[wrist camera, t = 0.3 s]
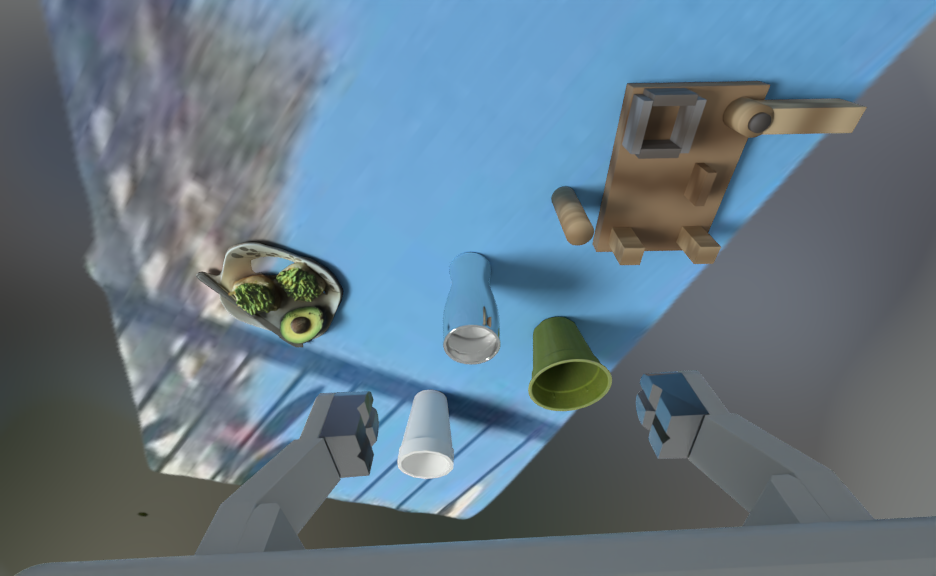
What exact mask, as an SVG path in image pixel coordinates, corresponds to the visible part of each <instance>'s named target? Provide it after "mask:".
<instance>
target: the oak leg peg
mask: <svg viewBox="0 0 936 576" xmlns="http://www.w3.org/2000/svg"><path fill="white" fill-rule="evenodd" d="M551 200H552V203H553V206H554V208H555V211H556V213H557V216H558V219H559V221H560V224H561V226H562V229H563V231H564V234H565V236H566V239H567V241H568V242H569V243H570V244H572V245H583V244H585V243H587V242H588V241H589V240H590V239H591V238H592V237H593V234H594V229H593V226H592V224H591V223H590V221H589V219H588V217H587V215H586V213H585V211H584V209H583V207H582V205H581V203H580V202H579V200H578V198H577V196H576V194H575V192H574V190H573V189H572V188H570V187H567V186H564V187H560V188H558V189H557V190H555V191H554V193H553V194H552V198H551Z"/></svg>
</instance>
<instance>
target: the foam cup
mask: <svg viewBox="0 0 936 576" xmlns="http://www.w3.org/2000/svg"><path fill="white" fill-rule="evenodd" d="M453 458H454V449H453V448H452V440H451V431H450V422H449V413H448V404H447V398H446V396H445V395H444V394H443V393H441V392H439V391H435V390H424V391H421V392H419V393H418V394H417V395H416V396H415V399H414V401H413V405H412V408H411V412H410V416H409V419H408V423H407V427H406V430H405V434H404V438H403V441H402V445H401V447H400V448H399V455H398V468H399V469H400V470H401V471H402V472H403V473H405V474H407V475H410V476H412V477H416V478H424V479H428V478H438V477H441V476H444V475H447V474H448V473H449V472H450V471H451V470H452V469H453Z"/></svg>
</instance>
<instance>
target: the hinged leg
mask: <svg viewBox="0 0 936 576" xmlns="http://www.w3.org/2000/svg"><path fill="white" fill-rule="evenodd" d="M866 108H867V107H865V106H862V105H859V104H855V103H852V102H849V101H846V100H843V99H840V98H837V99H782V100H752V99H750V98H747V97H741V98H738V99H736V100H734V101H732V102H731V103H730V104H729V105H728V106H727V108H726V109H725V111H724V113H723V122H724V124H725V125H726V126H728V127H729V128H731V129H733V130H735V131H737V132H738V133H740V134H742V135H744V136H746V137H749V138H752V137H757V136H759V135H761V134H811V133H852V132H853V130H854V128H855V127H856V125H857V123H858V122H859V120H860V118H861V116H862V115H863V113H864V111H865V109H866Z"/></svg>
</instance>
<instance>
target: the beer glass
mask: <svg viewBox="0 0 936 576" xmlns="http://www.w3.org/2000/svg"><path fill="white" fill-rule="evenodd" d="M449 274H450V278H451V288H450V291H449V294H448V297H447V300H446V304H445V308H444V314H443V341H444V343H443V347H444V350H445V352H446V354H447V355H448V356H449V357H450V358H451V359H453V360H455V361H457V362H459V363H463V364H480V363H483V362H486V361H488V360H490V359H492V358H493V357H494V356H495V355H496V354H497V353H498V351H499V349H500V319H499V312H498V307H497V304H496V300H495V298H494V295H493V292H492V290H491V287H490V284H489V280H490V275H491V266H490V263H489V261H488V260H487V259H486V258H485V257H484V256H482V255H480V254H478V253H473V252H467V253H463V254H460V255H458V256H457V257H455V258H454V259H453V260H452V262H451V264H450V266H449Z"/></svg>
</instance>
